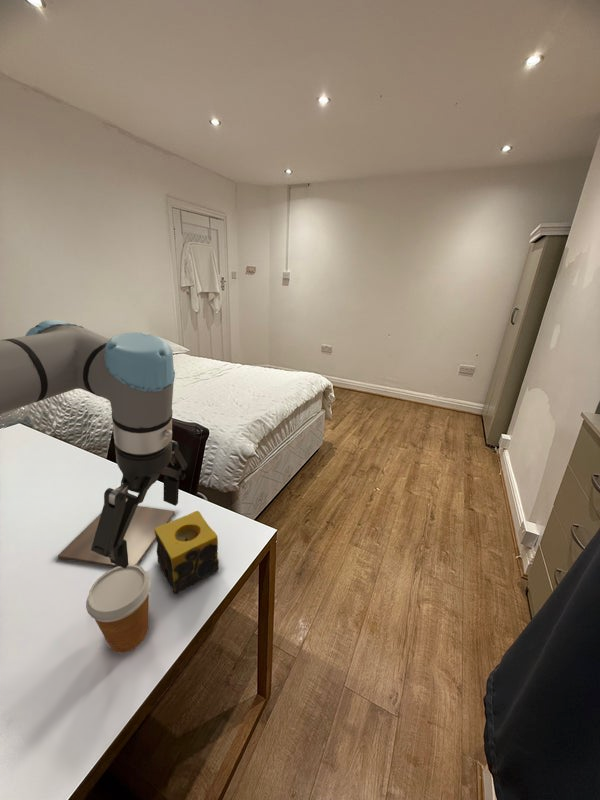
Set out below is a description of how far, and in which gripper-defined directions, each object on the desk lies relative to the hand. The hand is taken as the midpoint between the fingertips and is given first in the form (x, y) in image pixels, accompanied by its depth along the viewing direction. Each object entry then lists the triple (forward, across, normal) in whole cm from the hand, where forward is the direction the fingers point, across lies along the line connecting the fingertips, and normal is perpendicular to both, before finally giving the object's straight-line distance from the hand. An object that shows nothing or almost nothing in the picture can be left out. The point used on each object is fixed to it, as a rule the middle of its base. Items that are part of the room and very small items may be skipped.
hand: (147, 529), depth 58 cm
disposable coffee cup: (+16, -10, -3) cm, 19 cm away
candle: (+18, +6, -6) cm, 19 cm away
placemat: (+22, +9, +15) cm, 28 cm away
